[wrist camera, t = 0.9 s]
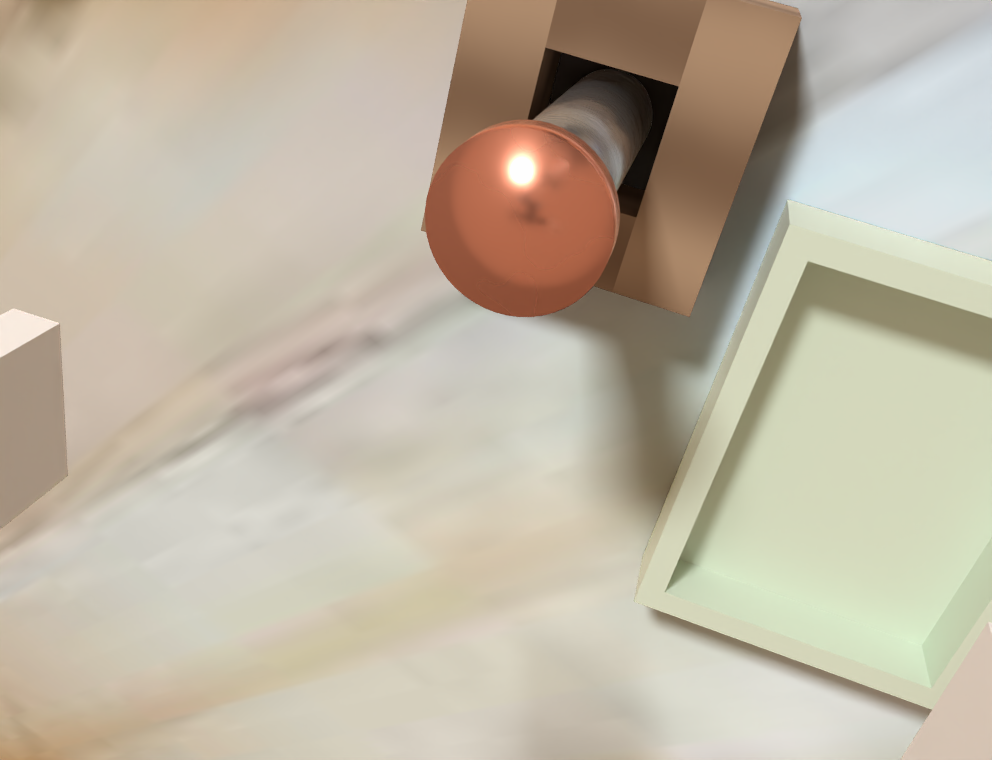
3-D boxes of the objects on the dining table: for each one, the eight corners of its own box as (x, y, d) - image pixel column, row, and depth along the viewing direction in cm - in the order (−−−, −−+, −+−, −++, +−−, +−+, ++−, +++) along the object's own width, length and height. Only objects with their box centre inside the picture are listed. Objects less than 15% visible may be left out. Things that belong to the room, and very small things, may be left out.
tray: (787, 199, 32) (789, 224, 30) (1162, 312, 31) (1200, 349, 28) (642, 557, 41) (634, 601, 38) (932, 660, 39) (944, 714, 37)
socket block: (509, -72, 31) (481, -72, 28) (797, 8, 30) (801, 17, 27) (449, 204, 36) (421, 230, 33) (695, 282, 35) (689, 317, 32)
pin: (565, 35, 32) (445, 102, 20) (686, 70, 32) (639, 161, 19) (535, 156, 34) (409, 283, 22) (647, 191, 34) (582, 340, 22)
